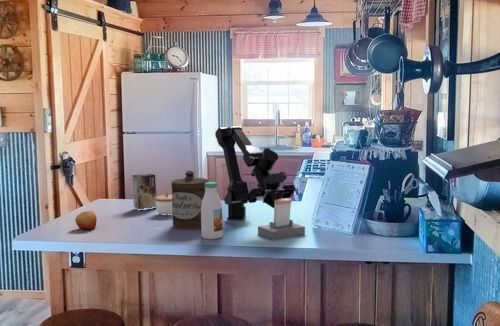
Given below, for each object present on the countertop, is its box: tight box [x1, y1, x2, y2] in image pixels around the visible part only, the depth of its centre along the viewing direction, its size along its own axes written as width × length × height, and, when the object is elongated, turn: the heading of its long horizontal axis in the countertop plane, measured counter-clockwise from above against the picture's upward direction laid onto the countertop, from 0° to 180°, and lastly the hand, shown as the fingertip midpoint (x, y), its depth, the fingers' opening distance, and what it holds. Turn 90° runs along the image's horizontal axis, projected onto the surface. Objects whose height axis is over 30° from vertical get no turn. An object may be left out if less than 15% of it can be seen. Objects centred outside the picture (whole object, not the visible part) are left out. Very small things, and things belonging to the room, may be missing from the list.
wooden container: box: [171, 170, 209, 230], centre depth 213 cm, size 15×15×22 cm
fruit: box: [75, 210, 98, 230], centre depth 212 cm, size 8×8×8 cm
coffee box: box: [131, 173, 157, 209], centre depth 248 cm, size 9×6×16 cm
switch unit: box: [257, 219, 306, 241], centre depth 197 cm, size 10×14×5 cm
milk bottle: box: [200, 181, 224, 240], centre depth 195 cm, size 8×8×20 cm
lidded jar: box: [155, 192, 172, 215], centre depth 236 cm, size 11×11×9 cm
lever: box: [273, 198, 292, 227], centre depth 196 cm, size 2×6×10 cm, turn 121°
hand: (280, 211), depth 197 cm, fingers closed, pressing on lever
